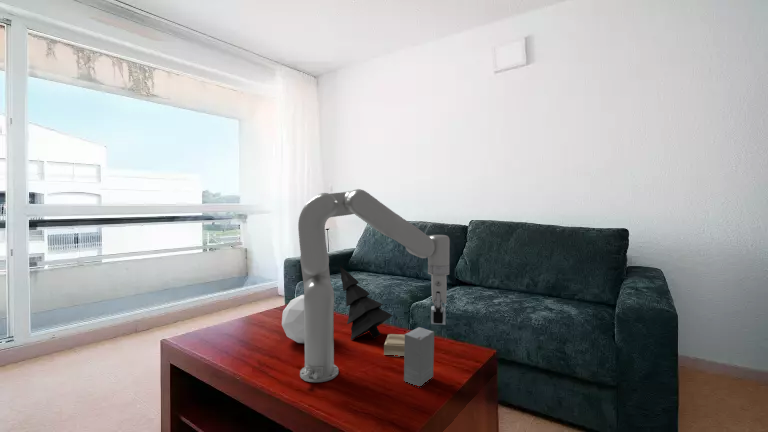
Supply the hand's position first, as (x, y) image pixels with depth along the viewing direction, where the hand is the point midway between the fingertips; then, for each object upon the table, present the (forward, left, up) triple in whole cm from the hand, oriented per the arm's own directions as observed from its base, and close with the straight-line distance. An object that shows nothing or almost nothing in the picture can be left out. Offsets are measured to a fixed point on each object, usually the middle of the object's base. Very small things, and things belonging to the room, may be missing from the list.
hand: (438, 320), depth 129 cm
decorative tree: (+23, +33, -15) cm, 43 cm away
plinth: (+9, +14, -15) cm, 22 cm away
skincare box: (-15, +6, -15) cm, 22 cm away
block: (0, 0, -1) cm, 1 cm away
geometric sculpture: (+13, +54, -15) cm, 58 cm away
